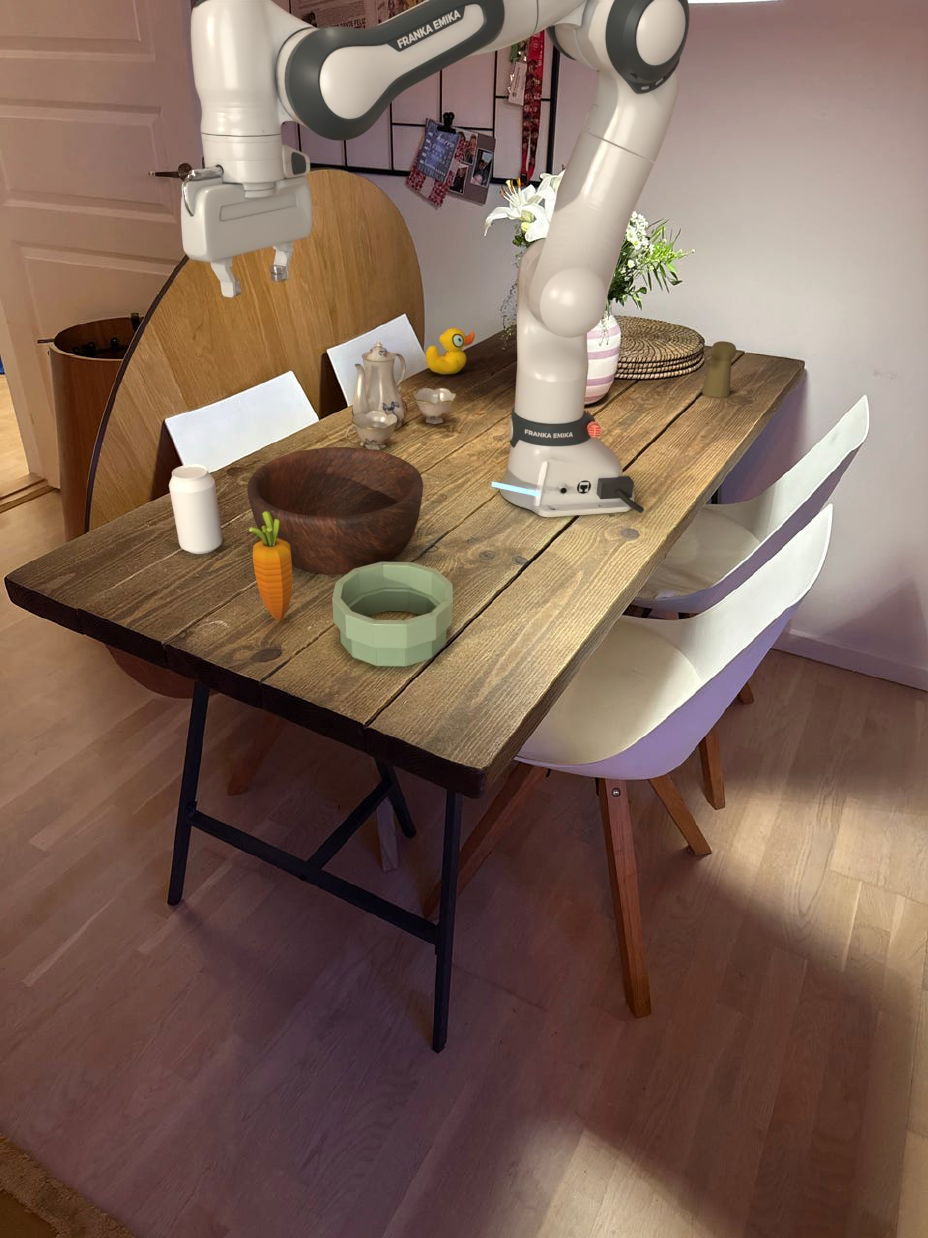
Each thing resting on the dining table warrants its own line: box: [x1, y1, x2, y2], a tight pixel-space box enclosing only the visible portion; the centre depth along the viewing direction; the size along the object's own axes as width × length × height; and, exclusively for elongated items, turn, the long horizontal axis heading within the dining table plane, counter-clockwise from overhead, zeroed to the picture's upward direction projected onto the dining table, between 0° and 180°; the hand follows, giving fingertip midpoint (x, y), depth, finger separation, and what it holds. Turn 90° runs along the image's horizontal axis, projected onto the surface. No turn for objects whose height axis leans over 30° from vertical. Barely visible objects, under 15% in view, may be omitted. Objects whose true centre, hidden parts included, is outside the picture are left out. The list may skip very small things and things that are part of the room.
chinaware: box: [345, 340, 458, 451], centre depth 165 cm, size 28×17×17 cm, turn 148°
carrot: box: [248, 511, 293, 622], centre depth 108 cm, size 5×5×15 cm
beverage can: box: [168, 464, 224, 555], centre depth 125 cm, size 6×6×12 cm
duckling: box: [425, 327, 476, 375], centre depth 195 cm, size 11×5×10 cm, turn 111°
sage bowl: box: [331, 561, 454, 667], centre depth 109 cm, size 15×15×7 cm
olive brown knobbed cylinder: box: [701, 340, 737, 398], centre depth 189 cm, size 6×6×11 cm
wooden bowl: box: [246, 446, 424, 576], centre depth 127 cm, size 25×25×10 cm
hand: (256, 288), depth 107 cm, fingers open, 8 cm apart
